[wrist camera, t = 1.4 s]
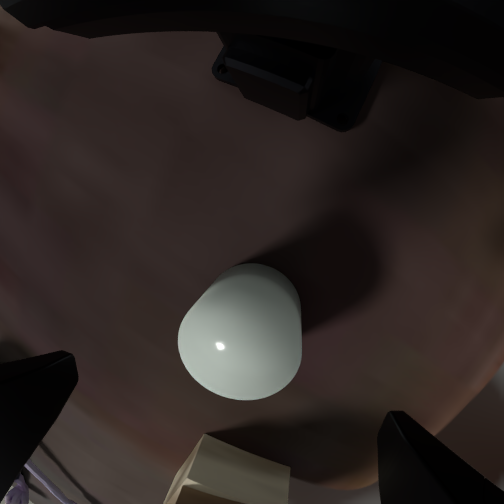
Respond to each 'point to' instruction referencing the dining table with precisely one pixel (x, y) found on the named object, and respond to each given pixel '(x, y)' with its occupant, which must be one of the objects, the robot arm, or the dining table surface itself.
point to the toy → (19, 495)
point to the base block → (231, 475)
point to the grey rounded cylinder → (244, 333)
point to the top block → (200, 497)
